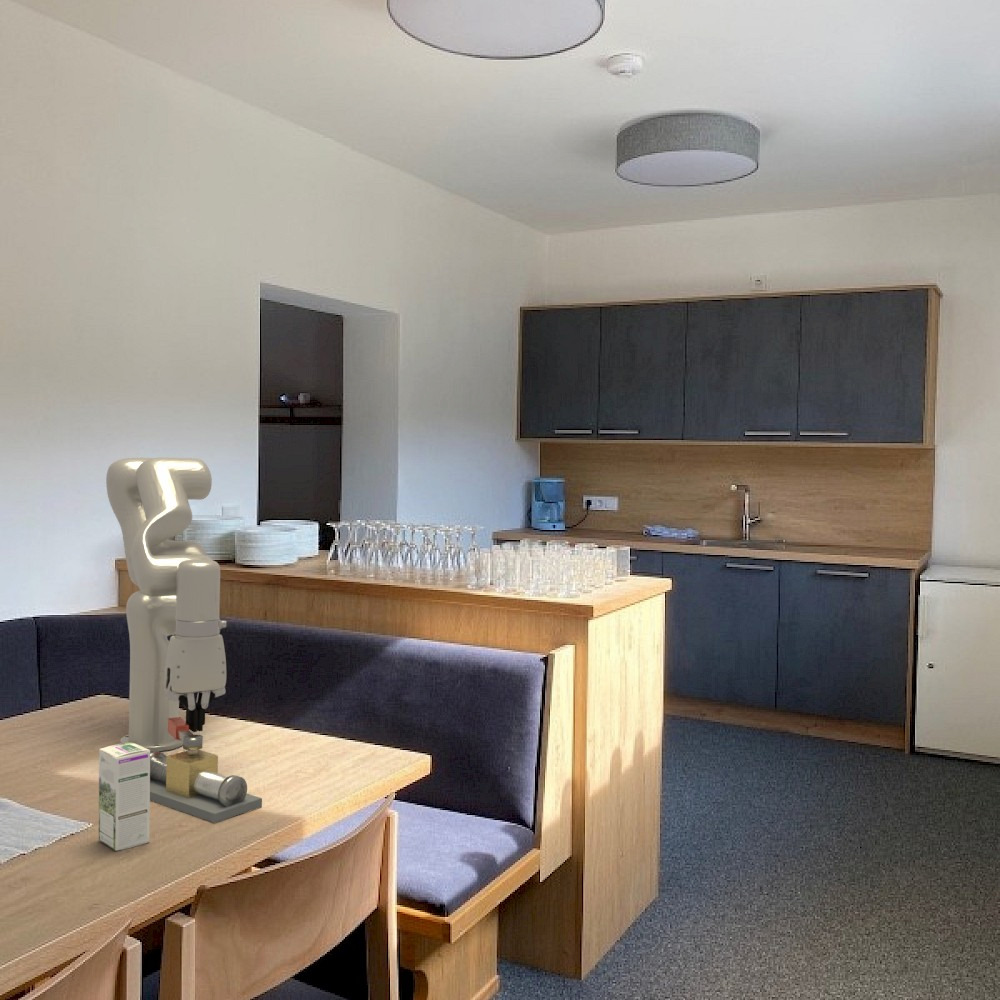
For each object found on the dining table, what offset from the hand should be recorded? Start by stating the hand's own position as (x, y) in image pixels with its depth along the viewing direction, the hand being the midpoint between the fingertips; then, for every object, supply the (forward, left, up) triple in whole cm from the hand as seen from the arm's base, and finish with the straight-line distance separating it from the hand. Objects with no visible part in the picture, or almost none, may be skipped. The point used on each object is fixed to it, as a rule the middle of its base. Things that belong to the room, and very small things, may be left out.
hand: (195, 729), depth 186 cm
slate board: (+6, +7, -9) cm, 13 cm away
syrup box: (+25, +15, -10) cm, 31 cm away
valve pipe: (+6, +7, -9) cm, 13 cm away
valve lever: (+4, +2, -2) cm, 5 cm away
